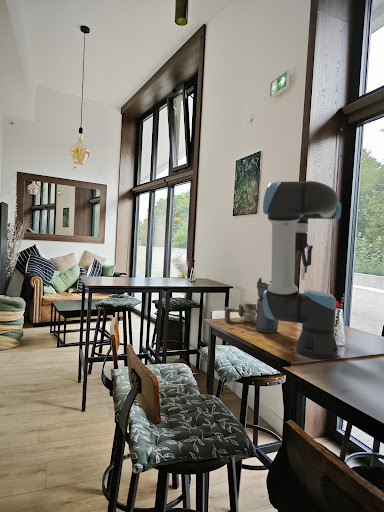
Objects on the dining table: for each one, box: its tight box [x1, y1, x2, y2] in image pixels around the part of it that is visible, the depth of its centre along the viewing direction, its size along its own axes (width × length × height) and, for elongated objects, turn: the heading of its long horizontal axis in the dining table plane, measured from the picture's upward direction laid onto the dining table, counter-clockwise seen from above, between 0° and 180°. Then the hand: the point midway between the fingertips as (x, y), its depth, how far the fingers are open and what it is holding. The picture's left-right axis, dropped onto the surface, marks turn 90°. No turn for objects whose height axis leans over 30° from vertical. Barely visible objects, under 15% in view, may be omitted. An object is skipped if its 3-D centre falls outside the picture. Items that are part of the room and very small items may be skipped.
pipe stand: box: [223, 306, 257, 325], centre depth 180 cm, size 22×7×7 cm, turn 93°
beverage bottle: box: [255, 277, 279, 334], centre depth 162 cm, size 10×13×25 cm
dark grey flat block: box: [238, 303, 243, 318], centre depth 180 cm, size 1×6×6 cm, turn 3°
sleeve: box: [242, 300, 257, 321], centre depth 180 cm, size 5×9×9 cm, turn 3°
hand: (296, 279), depth 171 cm, fingers open, 5 cm apart
